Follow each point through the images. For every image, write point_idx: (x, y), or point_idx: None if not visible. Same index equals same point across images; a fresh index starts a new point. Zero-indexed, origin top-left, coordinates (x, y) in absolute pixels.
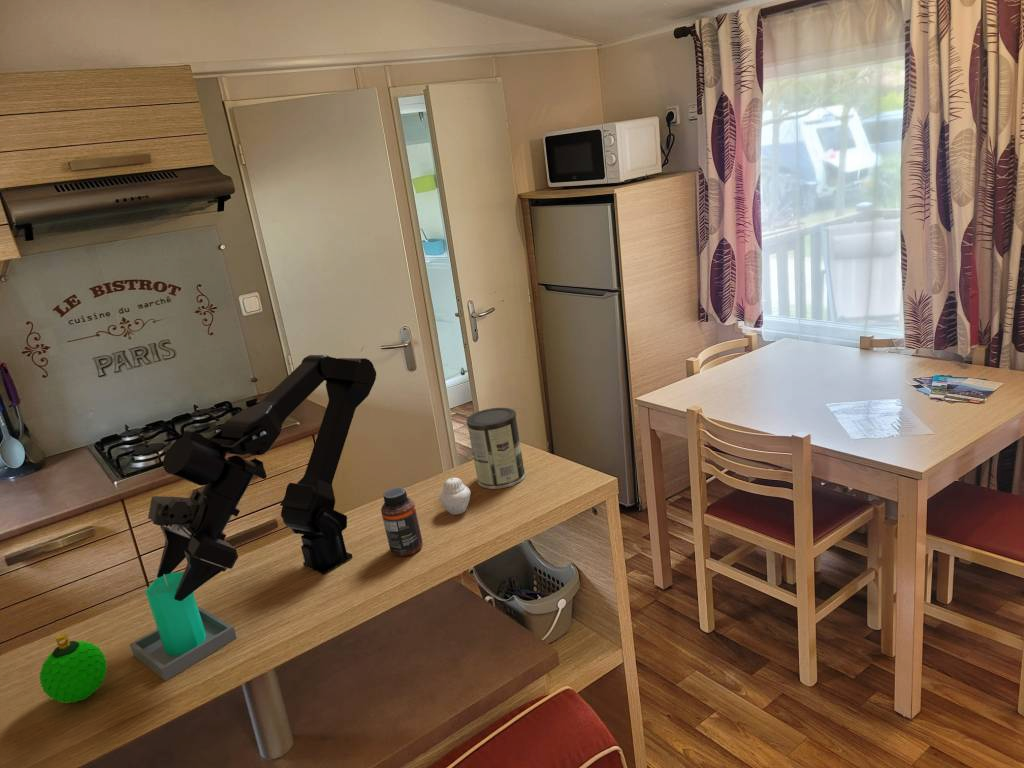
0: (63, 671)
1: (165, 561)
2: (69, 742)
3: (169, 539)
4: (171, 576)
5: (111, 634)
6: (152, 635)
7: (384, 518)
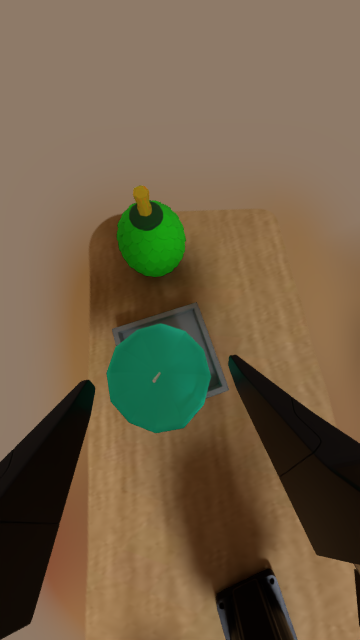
0: (119, 221)
1: (255, 394)
2: (94, 251)
3: (348, 492)
4: (198, 389)
5: (257, 289)
6: (200, 327)
7: None
